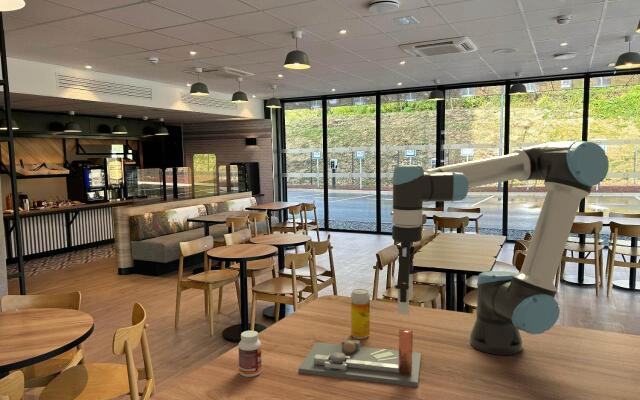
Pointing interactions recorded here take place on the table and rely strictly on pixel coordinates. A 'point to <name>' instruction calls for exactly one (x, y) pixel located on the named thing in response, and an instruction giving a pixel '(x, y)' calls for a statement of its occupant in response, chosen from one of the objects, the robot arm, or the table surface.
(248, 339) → the pill bottle
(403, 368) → the lever
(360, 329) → the beer can
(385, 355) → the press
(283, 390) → the table surface
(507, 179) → the robot arm
